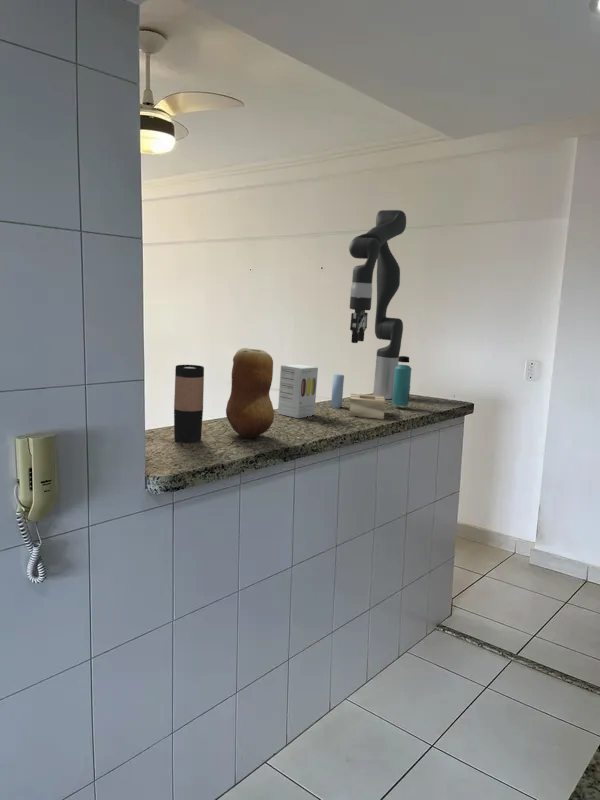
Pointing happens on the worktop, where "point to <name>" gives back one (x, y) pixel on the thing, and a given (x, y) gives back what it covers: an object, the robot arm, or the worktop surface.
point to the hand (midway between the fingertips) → (357, 342)
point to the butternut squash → (251, 393)
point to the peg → (337, 390)
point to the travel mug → (188, 403)
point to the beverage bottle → (401, 383)
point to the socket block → (367, 406)
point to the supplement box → (297, 390)
